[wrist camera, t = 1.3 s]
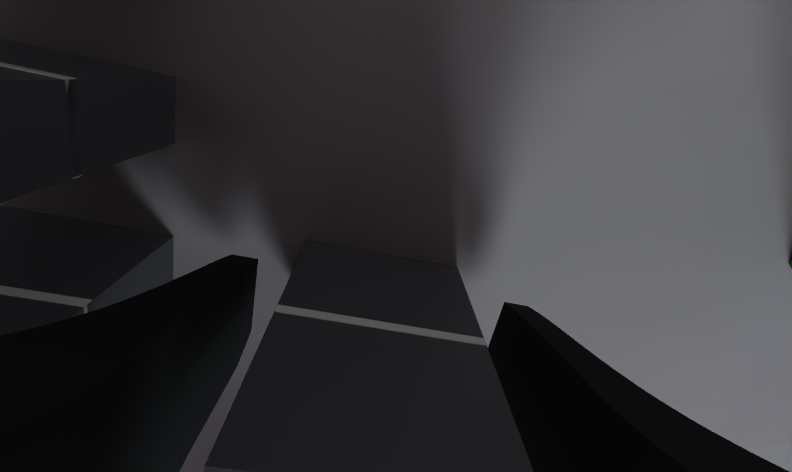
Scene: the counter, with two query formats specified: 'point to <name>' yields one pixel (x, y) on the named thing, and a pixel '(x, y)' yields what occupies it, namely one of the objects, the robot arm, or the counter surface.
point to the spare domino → (370, 376)
